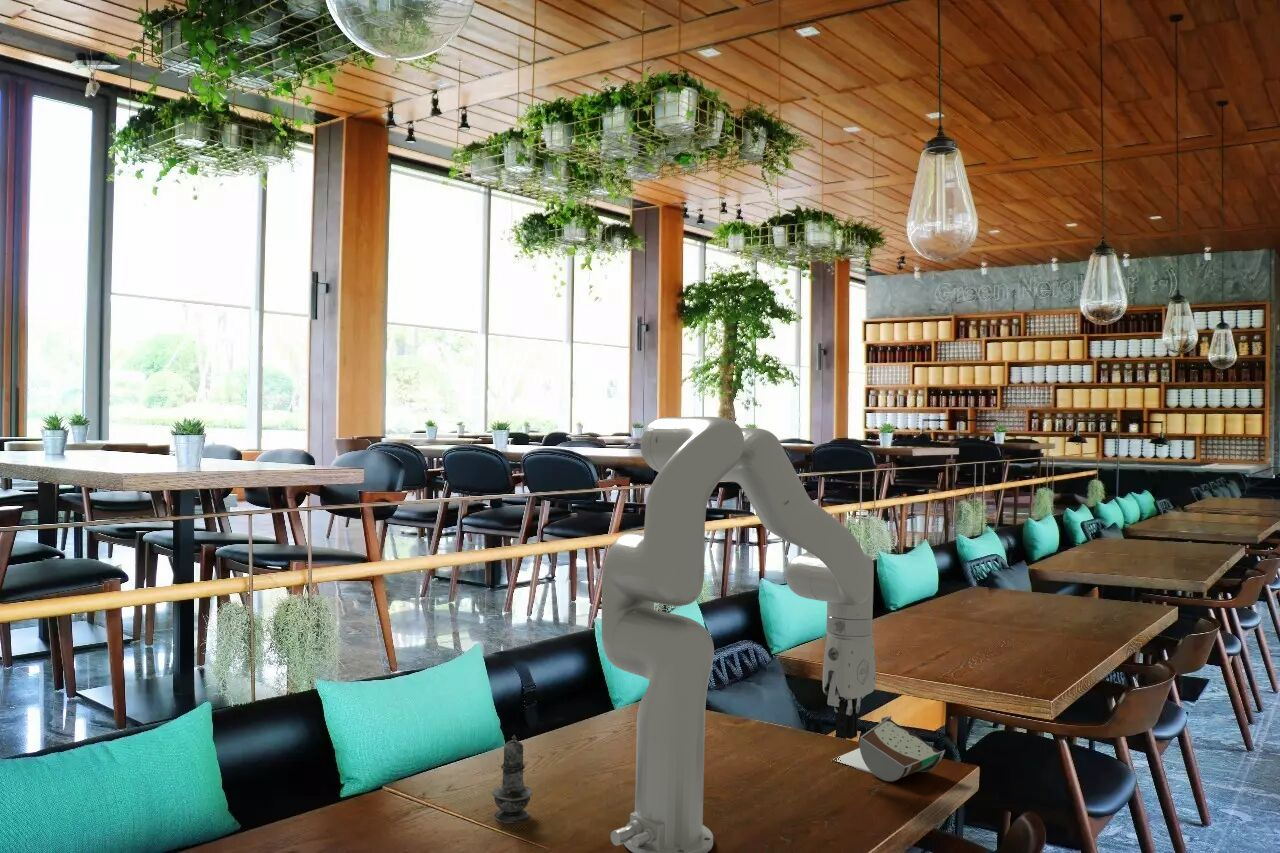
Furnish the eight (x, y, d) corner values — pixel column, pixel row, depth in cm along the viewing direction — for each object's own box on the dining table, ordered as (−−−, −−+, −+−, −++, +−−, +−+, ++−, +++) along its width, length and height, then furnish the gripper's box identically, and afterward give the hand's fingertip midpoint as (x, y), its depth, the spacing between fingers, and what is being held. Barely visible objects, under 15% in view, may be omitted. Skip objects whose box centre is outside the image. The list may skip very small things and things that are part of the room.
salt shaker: (512, 805, 143) (515, 726, 143) (540, 816, 139) (542, 734, 140) (483, 816, 138) (485, 735, 139) (510, 828, 135) (513, 743, 135)
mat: (887, 777, 159) (887, 776, 159) (831, 761, 167) (831, 759, 167) (915, 764, 166) (915, 762, 166) (860, 749, 174) (860, 747, 174)
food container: (905, 804, 155) (941, 781, 161) (912, 772, 153) (947, 751, 159) (847, 762, 164) (882, 743, 170) (852, 732, 162) (888, 714, 168)
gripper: (845, 636, 150) (842, 751, 150) (891, 625, 161) (888, 732, 161) (805, 628, 155) (802, 740, 155) (852, 618, 166) (849, 722, 166)
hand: (846, 736), depth 158 cm, fingers closed
